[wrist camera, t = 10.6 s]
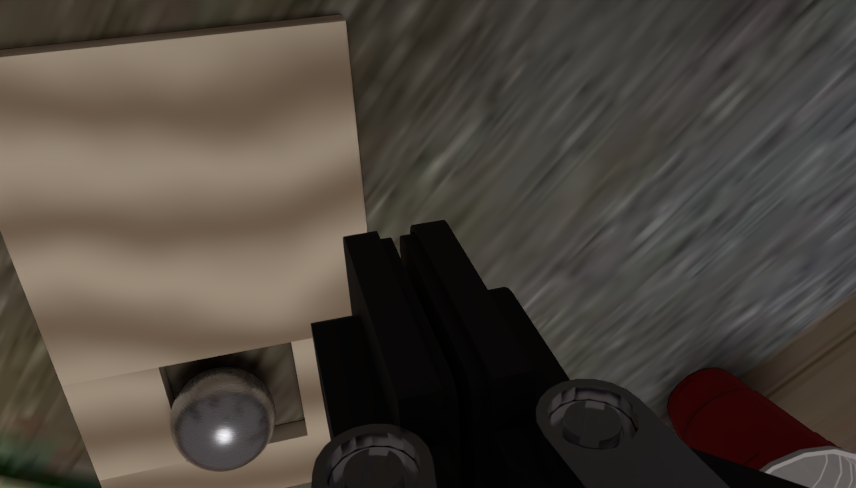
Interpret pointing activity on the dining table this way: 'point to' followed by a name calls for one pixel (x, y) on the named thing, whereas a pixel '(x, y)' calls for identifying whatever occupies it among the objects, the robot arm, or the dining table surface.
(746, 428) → the plastic cup
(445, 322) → the robot arm
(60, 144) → the wooden recessed tray
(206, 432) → the steel ball
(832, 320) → the dining table surface
